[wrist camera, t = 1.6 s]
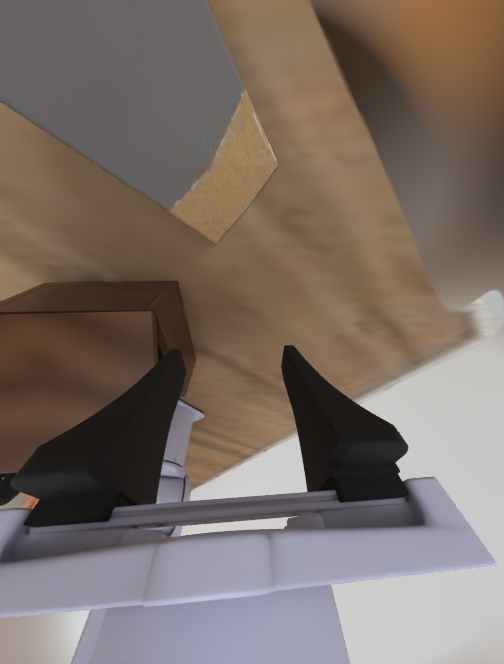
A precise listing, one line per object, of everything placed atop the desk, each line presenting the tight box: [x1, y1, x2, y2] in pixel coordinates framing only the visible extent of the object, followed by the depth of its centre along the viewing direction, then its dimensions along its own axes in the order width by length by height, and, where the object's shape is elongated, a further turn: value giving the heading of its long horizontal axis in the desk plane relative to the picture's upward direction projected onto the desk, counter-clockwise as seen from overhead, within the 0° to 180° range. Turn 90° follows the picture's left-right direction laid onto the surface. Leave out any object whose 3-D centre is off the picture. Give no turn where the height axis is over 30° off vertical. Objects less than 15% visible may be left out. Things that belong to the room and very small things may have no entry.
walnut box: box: [0, 281, 196, 397], centre depth 20 cm, size 12×14×6 cm
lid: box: [0, 311, 158, 474], centre depth 14 cm, size 12×14×1 cm
